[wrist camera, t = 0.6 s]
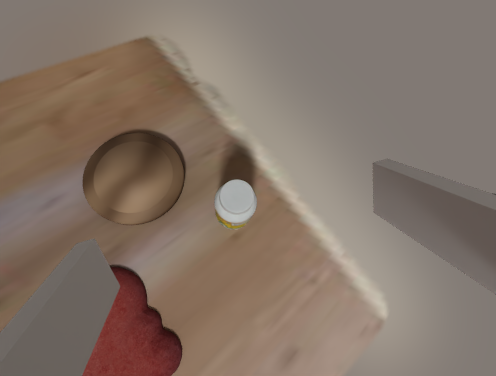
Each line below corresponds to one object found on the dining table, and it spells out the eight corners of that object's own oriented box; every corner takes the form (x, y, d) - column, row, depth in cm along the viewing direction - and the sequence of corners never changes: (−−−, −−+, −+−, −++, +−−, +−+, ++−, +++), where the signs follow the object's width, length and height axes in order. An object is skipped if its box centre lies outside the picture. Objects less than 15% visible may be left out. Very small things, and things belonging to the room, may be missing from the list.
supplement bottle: (255, 224, 37) (266, 212, 28) (220, 233, 36) (220, 225, 27) (245, 190, 38) (253, 169, 29) (211, 199, 37) (208, 179, 28)
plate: (69, 208, 35) (63, 206, 33) (112, 125, 39) (108, 121, 38) (164, 236, 35) (162, 235, 34) (196, 151, 39) (196, 147, 38)
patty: (194, 362, 32) (192, 368, 30) (90, 449, 28) (81, 463, 26) (125, 249, 34) (120, 249, 33) (24, 316, 31) (11, 320, 29)
